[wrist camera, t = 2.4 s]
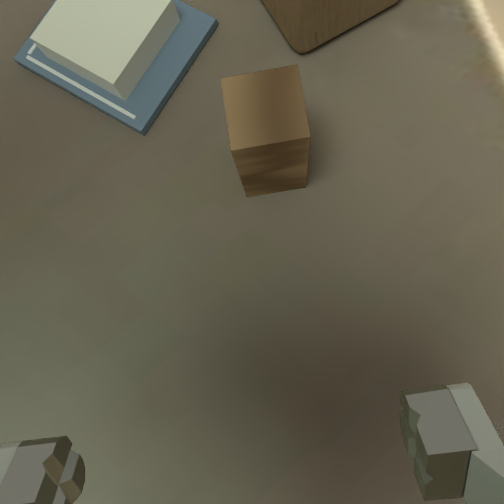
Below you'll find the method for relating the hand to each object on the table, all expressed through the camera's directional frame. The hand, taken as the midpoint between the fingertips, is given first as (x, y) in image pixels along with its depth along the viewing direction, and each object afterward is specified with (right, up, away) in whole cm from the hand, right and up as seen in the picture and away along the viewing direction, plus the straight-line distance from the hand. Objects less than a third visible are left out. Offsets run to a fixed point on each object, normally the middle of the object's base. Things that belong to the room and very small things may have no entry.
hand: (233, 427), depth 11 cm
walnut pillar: (+2, +11, +24) cm, 26 cm away
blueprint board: (-11, +21, +27) cm, 36 cm away
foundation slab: (-11, +21, +26) cm, 35 cm away
